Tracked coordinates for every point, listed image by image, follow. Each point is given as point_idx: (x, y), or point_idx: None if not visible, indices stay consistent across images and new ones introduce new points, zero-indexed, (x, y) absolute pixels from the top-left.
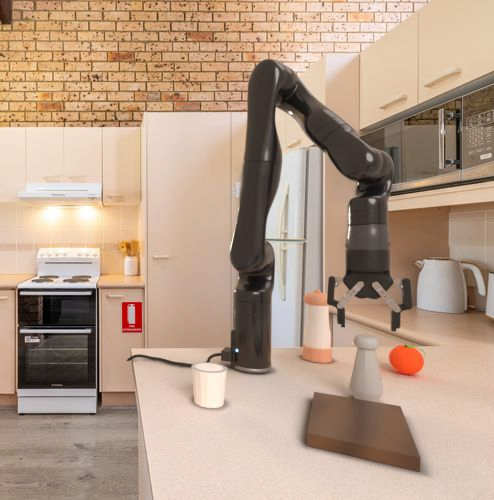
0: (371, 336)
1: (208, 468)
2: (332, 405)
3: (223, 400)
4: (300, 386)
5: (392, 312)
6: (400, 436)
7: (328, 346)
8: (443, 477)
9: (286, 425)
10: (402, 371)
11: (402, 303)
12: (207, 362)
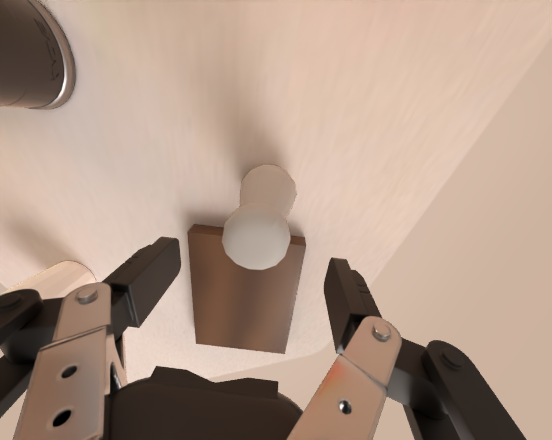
0: (267, 253)
1: (144, 373)
2: (215, 275)
3: (90, 282)
4: (162, 154)
5: (338, 353)
6: (279, 327)
7: None
8: (299, 343)
9: (176, 302)
10: None
11: (416, 392)
12: (2, 293)
